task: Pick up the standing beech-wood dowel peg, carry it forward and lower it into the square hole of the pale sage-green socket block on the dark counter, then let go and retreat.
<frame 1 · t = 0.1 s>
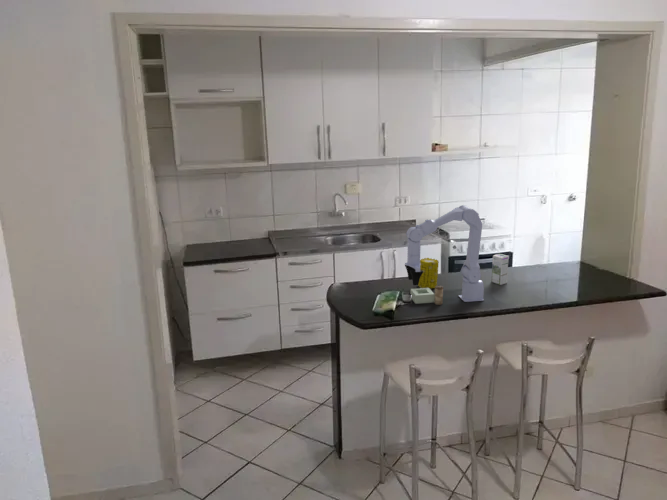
hand: (413, 282, 242), 10 cm above the counter, fingers open, 7 cm apart
beech peg: (438, 303, 244), on the counter
syrup box: (499, 283, 269), on the counter
food: (427, 286, 266), on the counter
socket block: (422, 299, 249), on the counter
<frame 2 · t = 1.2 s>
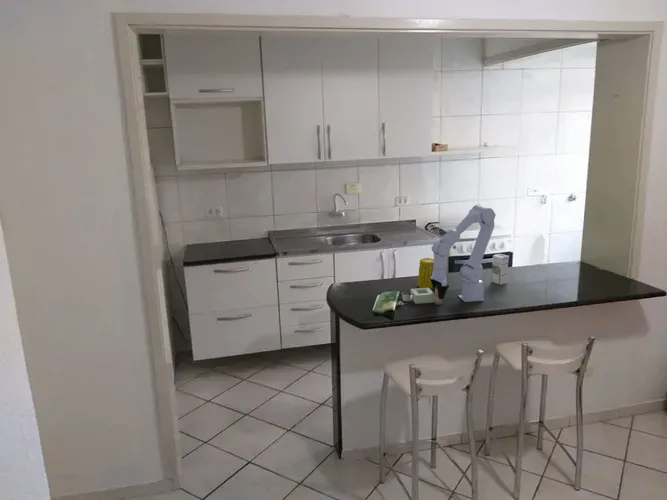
hand: (438, 295, 243), 4 cm above the counter, fingers open, 7 cm apart
nothing on the counter moved.
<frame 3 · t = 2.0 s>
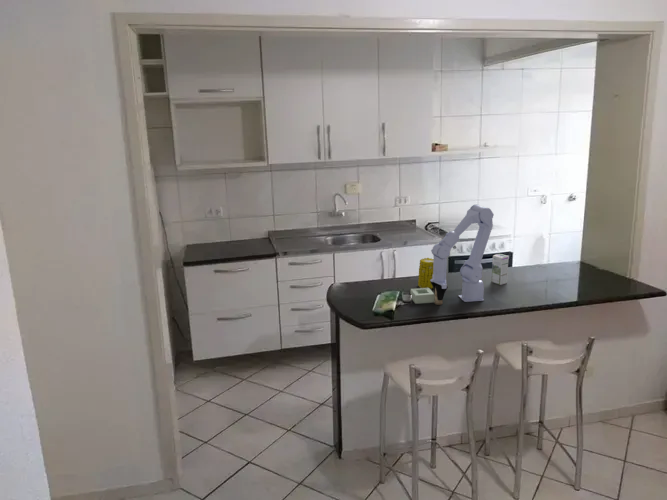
hand: (438, 298, 243), 2 cm above the counter, fingers closed on beech peg, 4 cm apart
beech peg: (438, 303, 244), on the counter, touching gripper
everything else where it was.
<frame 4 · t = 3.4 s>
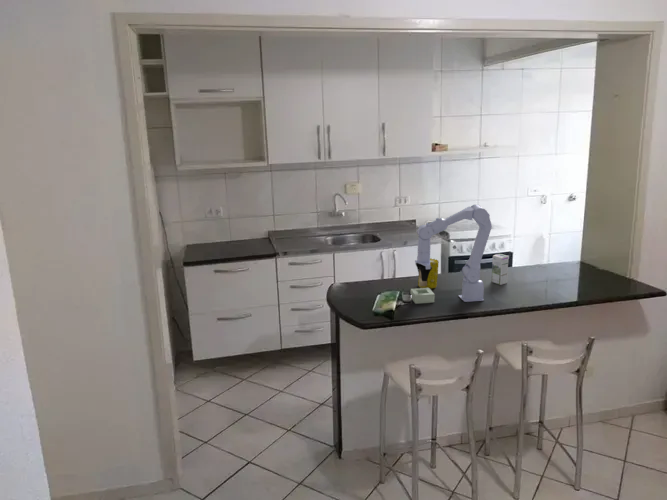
hand: (423, 279, 246), 10 cm above the counter, fingers closed on beech peg, 4 cm apart
beech peg: (423, 285, 247), point 7 cm above the counter, touching gripper
everything else where it was.
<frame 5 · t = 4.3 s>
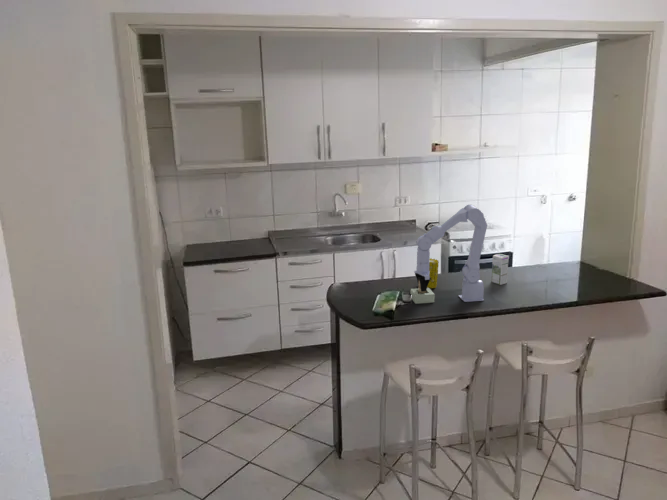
hand: (422, 289, 247), 5 cm above the counter, fingers closed on beech peg, 4 cm apart
beech peg: (422, 295, 248), point 2 cm above the counter, touching gripper
everything else where it was.
when the fingers open (5 cm above the counter, at t = 4.7 s): beech peg drops 2 cm, resting in socket block.
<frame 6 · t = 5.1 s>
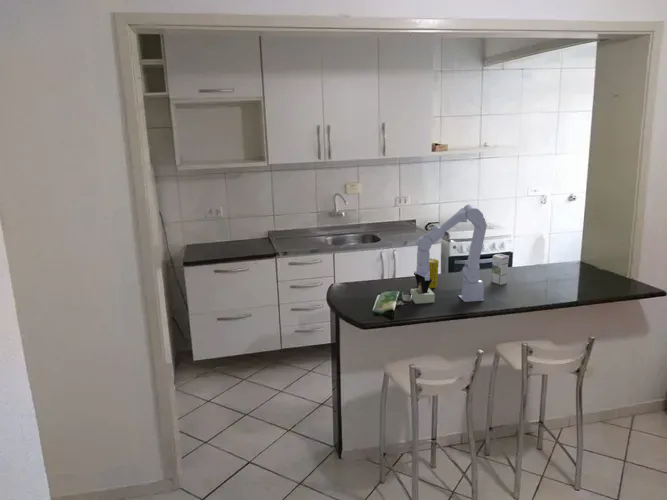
hand: (422, 290, 247), 5 cm above the counter, fingers open, 7 cm apart
beech peg: (422, 299, 249), resting in socket block
everything else where it was.
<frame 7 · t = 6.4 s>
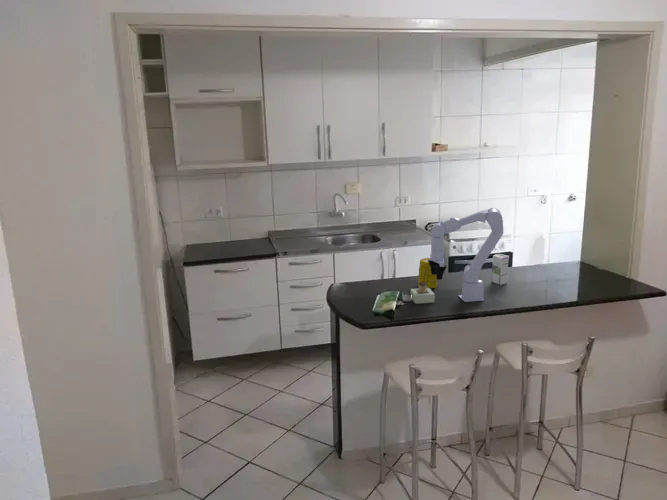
hand: (436, 276, 250), 10 cm above the counter, fingers open, 7 cm apart
nothing on the counter moved.
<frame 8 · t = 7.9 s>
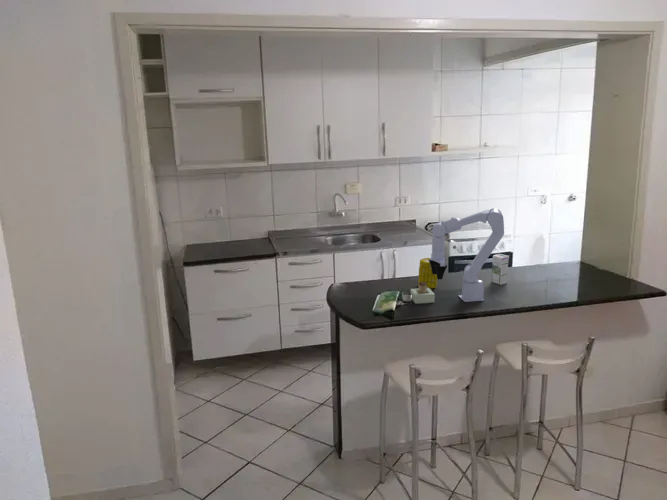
hand: (437, 276, 250), 10 cm above the counter, fingers open, 7 cm apart
nothing on the counter moved.
at the end: beech peg 0.0 cm off-centre on the socket block, point 0.0 cm above the socket block's base; beech peg tilted 0°; the gripper is holding nothing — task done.
